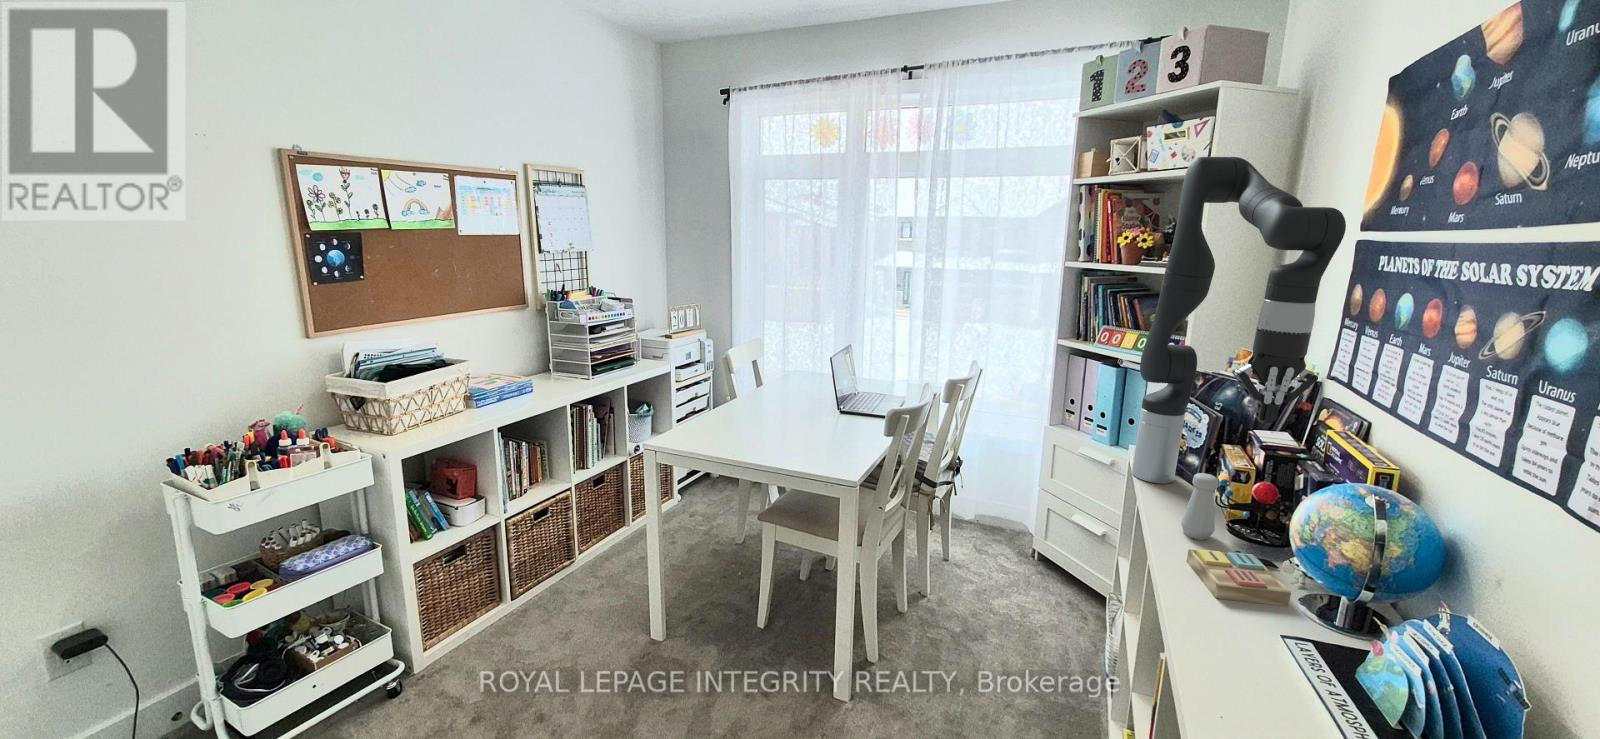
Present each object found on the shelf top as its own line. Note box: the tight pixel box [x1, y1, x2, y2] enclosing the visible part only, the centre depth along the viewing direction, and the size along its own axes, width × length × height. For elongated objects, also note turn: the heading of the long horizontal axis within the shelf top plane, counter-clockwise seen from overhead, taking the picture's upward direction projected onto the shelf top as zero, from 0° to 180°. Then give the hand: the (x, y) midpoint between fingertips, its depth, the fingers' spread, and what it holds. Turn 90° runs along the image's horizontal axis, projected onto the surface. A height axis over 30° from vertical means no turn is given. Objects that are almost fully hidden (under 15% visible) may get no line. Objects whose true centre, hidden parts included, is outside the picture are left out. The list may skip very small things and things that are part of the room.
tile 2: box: [1226, 551, 1265, 570], centre depth 112 cm, size 4×4×2 cm
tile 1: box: [1195, 548, 1231, 567], centre depth 113 cm, size 4×4×2 cm
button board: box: [1186, 548, 1292, 607], centre depth 110 cm, size 12×11×2 cm
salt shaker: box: [1180, 472, 1219, 541], centre depth 125 cm, size 6×6×13 cm
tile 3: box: [1227, 568, 1265, 588], centre depth 107 cm, size 4×4×2 cm
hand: (1264, 422), depth 111 cm, fingers closed
